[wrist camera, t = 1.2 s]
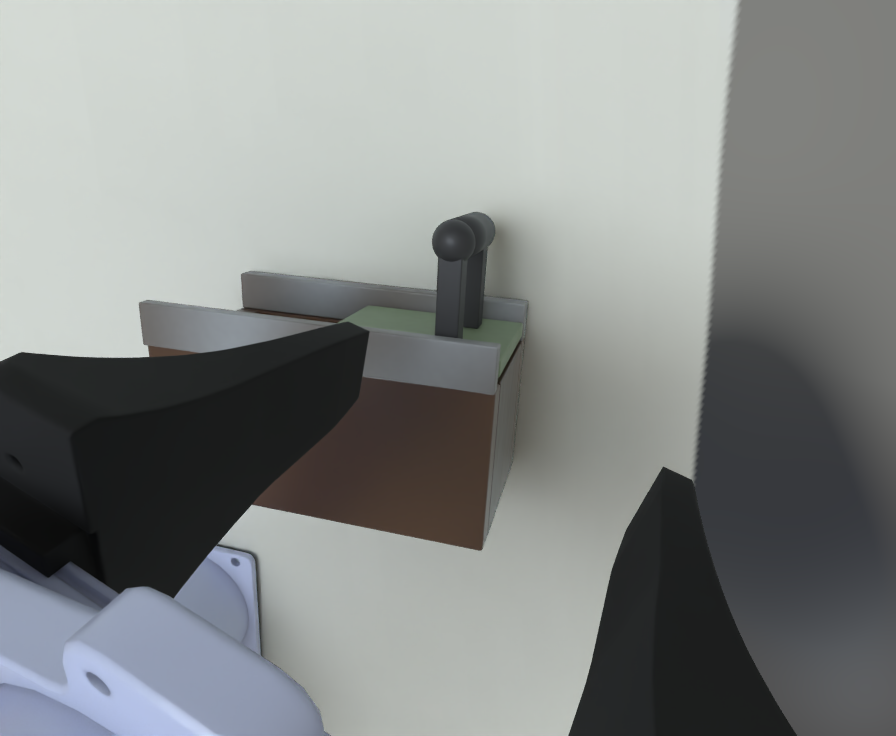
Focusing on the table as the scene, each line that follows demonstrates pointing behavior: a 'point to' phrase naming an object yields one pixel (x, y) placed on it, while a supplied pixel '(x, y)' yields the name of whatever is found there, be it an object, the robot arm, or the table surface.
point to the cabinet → (379, 407)
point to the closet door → (454, 291)
